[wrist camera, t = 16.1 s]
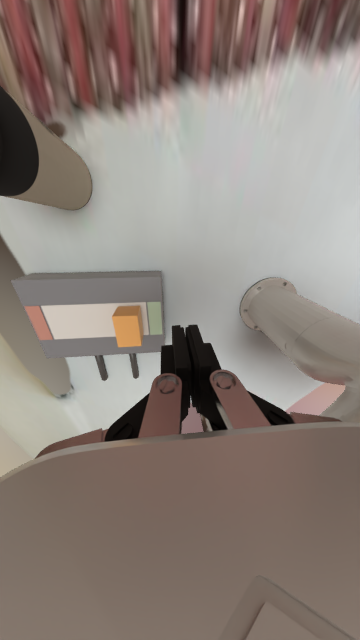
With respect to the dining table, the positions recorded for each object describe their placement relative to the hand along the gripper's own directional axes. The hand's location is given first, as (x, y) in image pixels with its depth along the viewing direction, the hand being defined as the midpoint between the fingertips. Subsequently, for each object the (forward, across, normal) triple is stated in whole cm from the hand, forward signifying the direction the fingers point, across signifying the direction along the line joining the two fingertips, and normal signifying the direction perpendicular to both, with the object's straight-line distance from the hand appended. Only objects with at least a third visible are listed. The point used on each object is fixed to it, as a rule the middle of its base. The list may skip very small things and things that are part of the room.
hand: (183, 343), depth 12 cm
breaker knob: (+20, +8, +8) cm, 23 cm away
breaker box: (+25, +14, +14) cm, 32 cm away
